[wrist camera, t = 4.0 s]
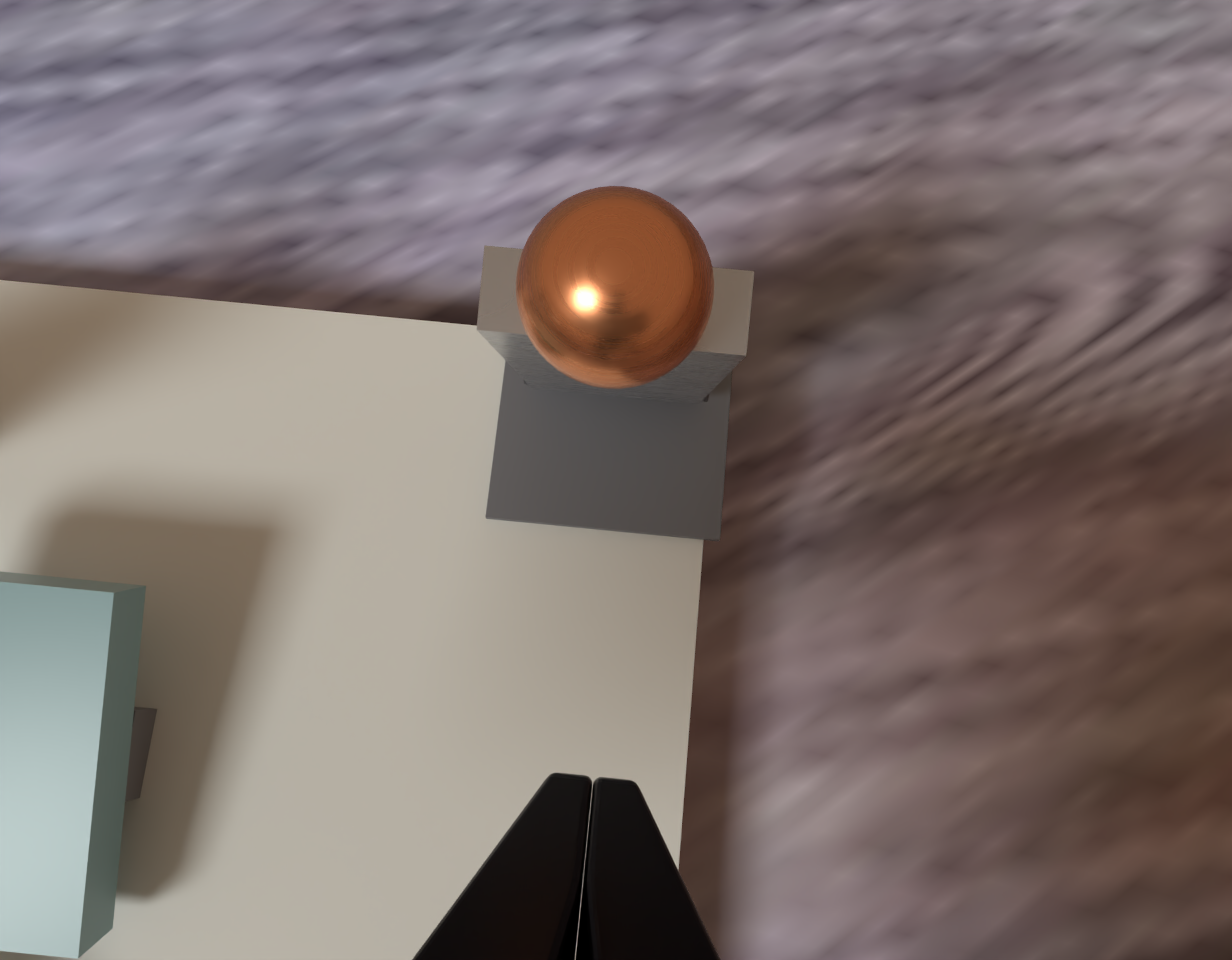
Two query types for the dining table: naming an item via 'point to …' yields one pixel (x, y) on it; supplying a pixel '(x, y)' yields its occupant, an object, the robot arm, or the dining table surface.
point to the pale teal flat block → (63, 756)
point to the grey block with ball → (616, 301)
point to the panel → (350, 600)
